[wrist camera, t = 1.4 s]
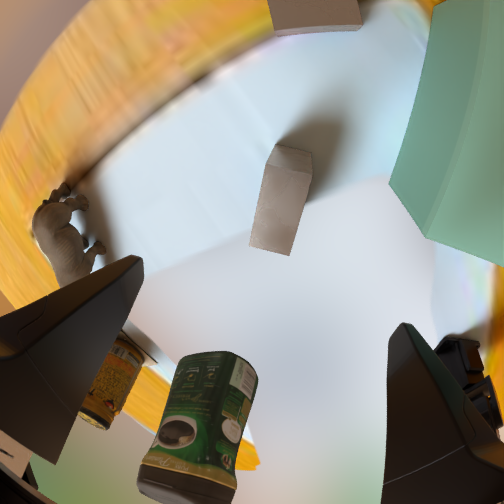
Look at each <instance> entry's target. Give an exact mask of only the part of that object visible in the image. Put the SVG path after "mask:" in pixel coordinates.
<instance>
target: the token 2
mask: <svg viewBox="0 0 504 504" xmlns="http://www.w3.org/2000/svg"><path fill="white" fill-rule="evenodd" d="M267 1H268V5H269V9H270V13H271V18H272V22H273V26H274V31H275V33H276V35H277V36H278V37H281V36H288V35H297V34H307V33H319V32H339V31H357V30H358V29H359V28H360V27H361V26H362V25H363V22H362V18H361V14H360V10H359V6H358V2H357V0H267Z"/></svg>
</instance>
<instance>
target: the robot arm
mask: <svg viewBox="0 0 504 504" xmlns="http://www.w3.org/2000/svg"><path fill="white" fill-rule="evenodd" d="M143 281H144V266H143V259H142V258H141V257H139V256H135V255H129V256H127V257H125V258H122V259H120V260H118V261H116V262H114V263H112V264H110V265H107V266H105V267H103V268H101V269H99V270H97V271H95V272H93V273H91V274H89V275H86V276H84V277H82V278H80V279H78V280H76V281H74V282H72V283H70V284H68V285H66V286H64V287H62V288H60V289H58V290H56V291H54V292H52V293H50V294H49V295H48V296H47V295H46V296H44V297H42V298H40V299H39V300H37V301H35V302H32V303H30V304H28V305H26V306H24V307H22V308H20V309H18V310H15V311H13V312H11V313H8V314H6V315H4V316H1V317H0V504H57V503H55V502H54V501H52V500H50V499H49V498H47V497H46V496H44V495H43V494H41V493H40V492H38V491H37V490H38V485H37V483H36V480H35V477H34V475H33V471H32V469H31V466H30V462H29V460H30V458H31V455H32V453H35V454H37V455H38V456H40V457H42V458H44V459H45V460H47V461H49V462H50V463H52V464H54V465H56V463H57V461H58V459H59V456H60V454H61V451H62V449H63V447H64V444H65V442H66V439H67V437H68V435H69V432H70V430H71V428H72V426H73V424H74V421H75V419H76V416H77V415H78V412H79V410H80V408H81V406H82V404H83V402H84V400H85V398H86V396H87V394H88V391H89V389H90V387H91V385H92V383H93V381H94V379H95V377H96V375H97V374H98V372H99V370H100V368H101V366H102V364H103V362H104V360H105V358H106V356H107V354H108V352H109V351H110V349H111V347H112V345H113V343H114V341H115V340H116V338H117V336H118V334H119V332H120V331H121V329H122V327H123V325H124V323H125V321H126V320H127V318H128V315H129V313H130V311H131V308H132V306H133V304H134V301H135V299H136V297H137V295H138V292H139V290H140V288H141V286H142V284H143ZM479 347H480V343H479V342H478V341H470V340H464V339H457V338H450V337H446V338H444V339H443V340H442V341H441V342H440V343H439V345H438V346H437V347H436V348H435V349H434V350H432V348H431V347H430V346H429V345H428V343H427V342H426V341H425V340H424V338H423V337H422V336H421V335H420V333H419V332H418V331H417V330H416V329H415V327H414V326H413V325H412V324H409V323H401V324H400V325H399V326H398V327H397V329H396V330H395V331H394V333H393V334H392V336H391V337H390V339H389V343H388V364H387V435H386V457H385V469H384V480H383V484H384V485H383V488H382V498H381V504H504V443H503V442H502V441H501V440H500V435H499V430H498V429H499V428H501V427H503V425H504V424H503V419H502V414H501V409H500V405H499V401H498V397H497V394H496V391H495V388H494V385H493V383H492V380H491V378H490V375H488V376H486V377H485V378H484V375H483V372H482V371H483V370H484V366H483V363H482V360H481V358H480V355H479V352H478V350H477V349H478V348H479ZM489 395H490V397H489V398H488V396H489Z"/></svg>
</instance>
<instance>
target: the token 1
mask: <svg viewBox="0 0 504 504" xmlns="http://www.w3.org/2000/svg"><path fill="white" fill-rule="evenodd" d="M312 176H313V172H312V159H311V153H310V152H306V151H302V150H298V149H294V148H290V147H286V146H282V145H277V144H275V146H274V148H273V150H272V152H271V154H270V156H269V158H268V160H267V162H266V165H265V170H264V174H263V179H262V184H261V189H260V194H259V199H258V203H257V208H256V213H255V218H254V223H253V228H252V233H251V238H250V242H249V246H251V247H255V248H259V249H263V250H267V251H271V252H275V253H280V254H283V255H287V256H289V255H290V252H291V248H292V245H293V242H294V239H295V235H296V232H297V229H298V225H299V222H300V218H301V215H302V212H303V208H304V205H305V201H306V198H307V194H308V191H309V187H310V183H311V180H312Z"/></svg>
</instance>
